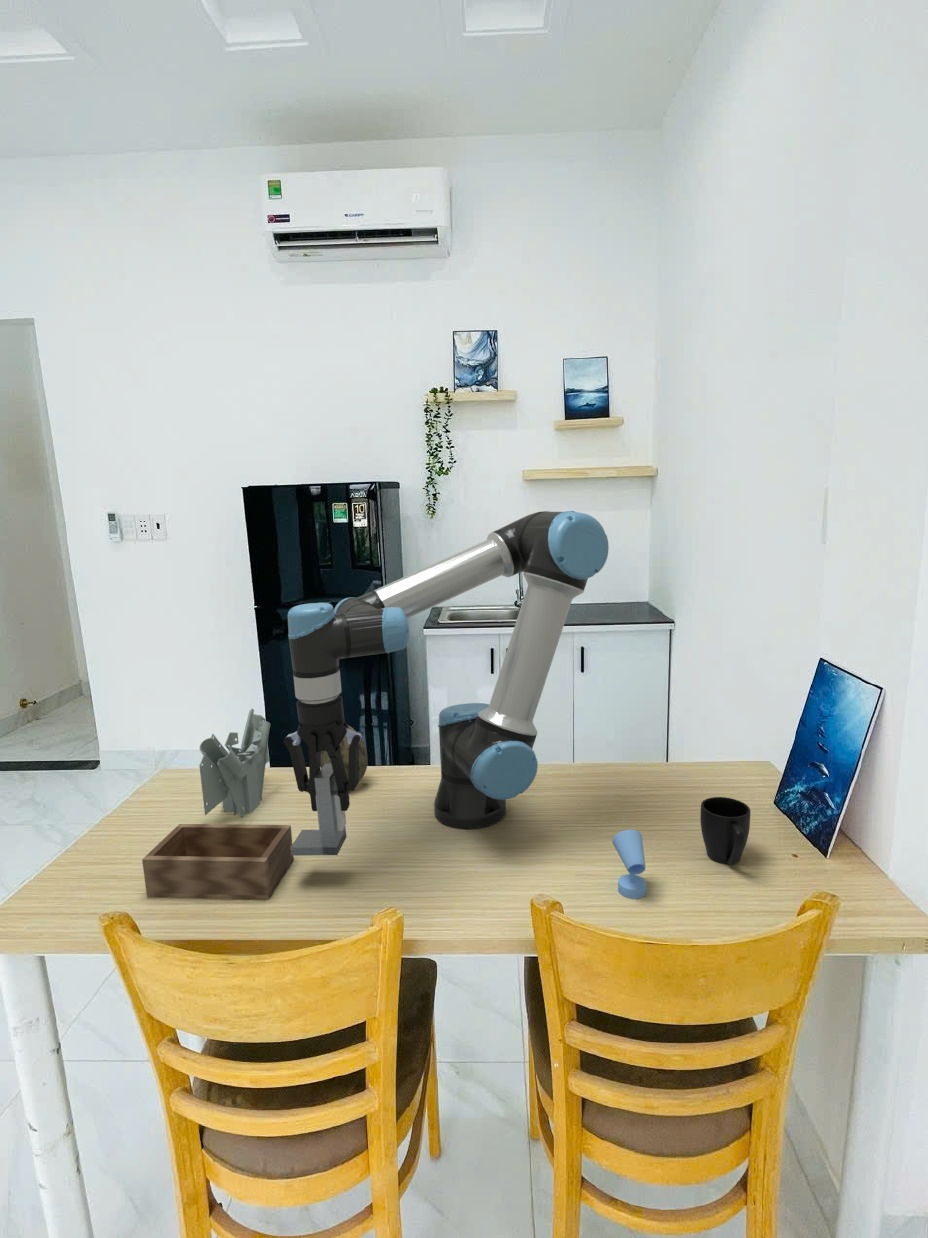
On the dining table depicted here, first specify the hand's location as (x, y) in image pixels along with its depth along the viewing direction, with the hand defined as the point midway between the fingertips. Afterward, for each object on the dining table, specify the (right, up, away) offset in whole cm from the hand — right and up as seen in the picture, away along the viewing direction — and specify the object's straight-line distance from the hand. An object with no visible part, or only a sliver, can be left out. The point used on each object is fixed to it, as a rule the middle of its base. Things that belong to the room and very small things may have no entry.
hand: (333, 826), depth 115 cm
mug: (+69, -7, +3) cm, 70 cm away
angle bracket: (-3, -4, +1) cm, 5 cm away
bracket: (-26, -6, +31) cm, 40 cm away
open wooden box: (-20, -10, +3) cm, 23 cm away
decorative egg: (-5, -3, +40) cm, 40 cm away
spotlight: (+50, -9, -4) cm, 51 cm away
